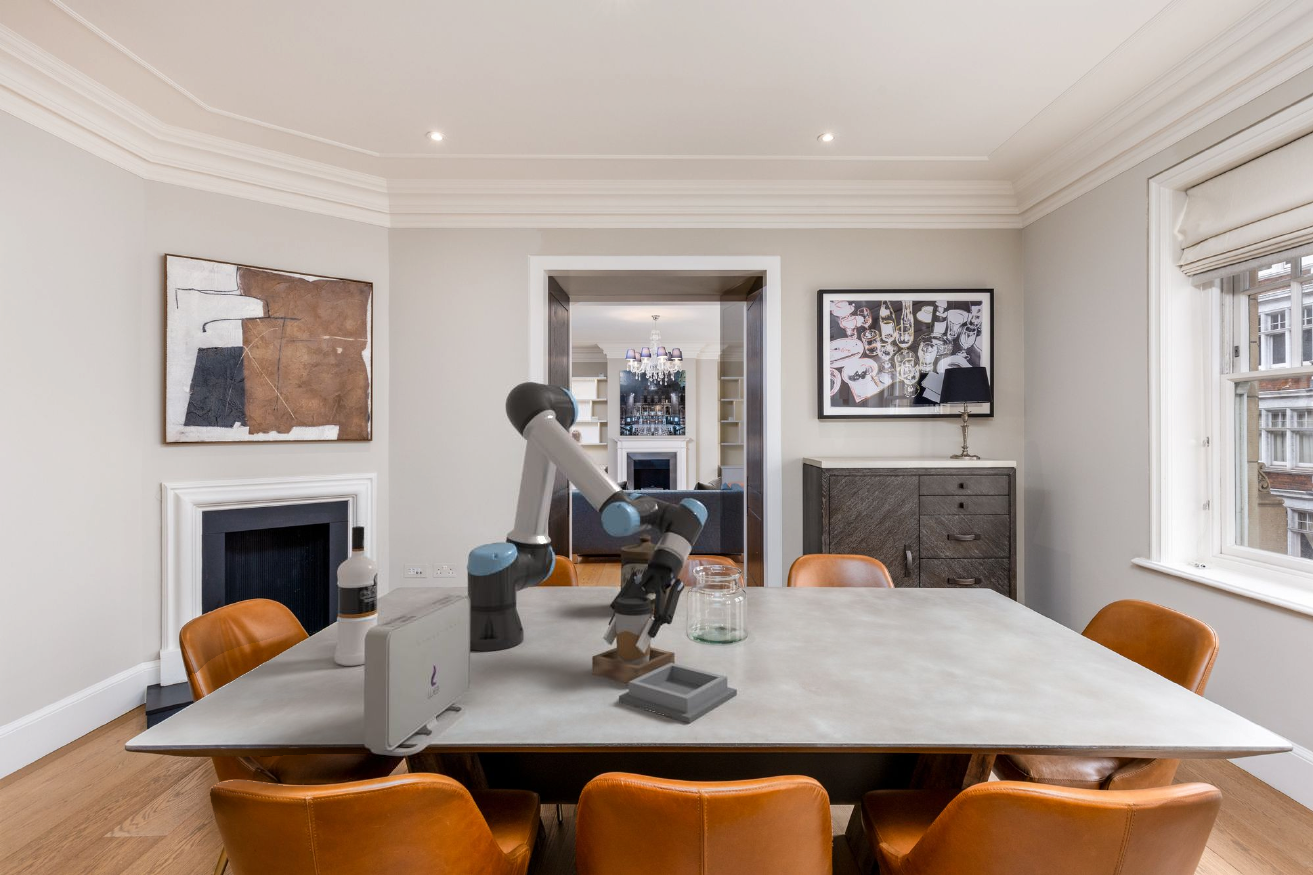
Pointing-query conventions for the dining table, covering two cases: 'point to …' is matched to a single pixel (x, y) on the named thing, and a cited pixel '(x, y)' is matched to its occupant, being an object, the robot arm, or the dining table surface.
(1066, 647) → the dining table surface
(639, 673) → the walnut holder
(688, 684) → the dock pad
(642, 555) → the wooden container
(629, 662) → the coffee cup
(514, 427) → the robot arm
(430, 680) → the network device
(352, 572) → the vodka
